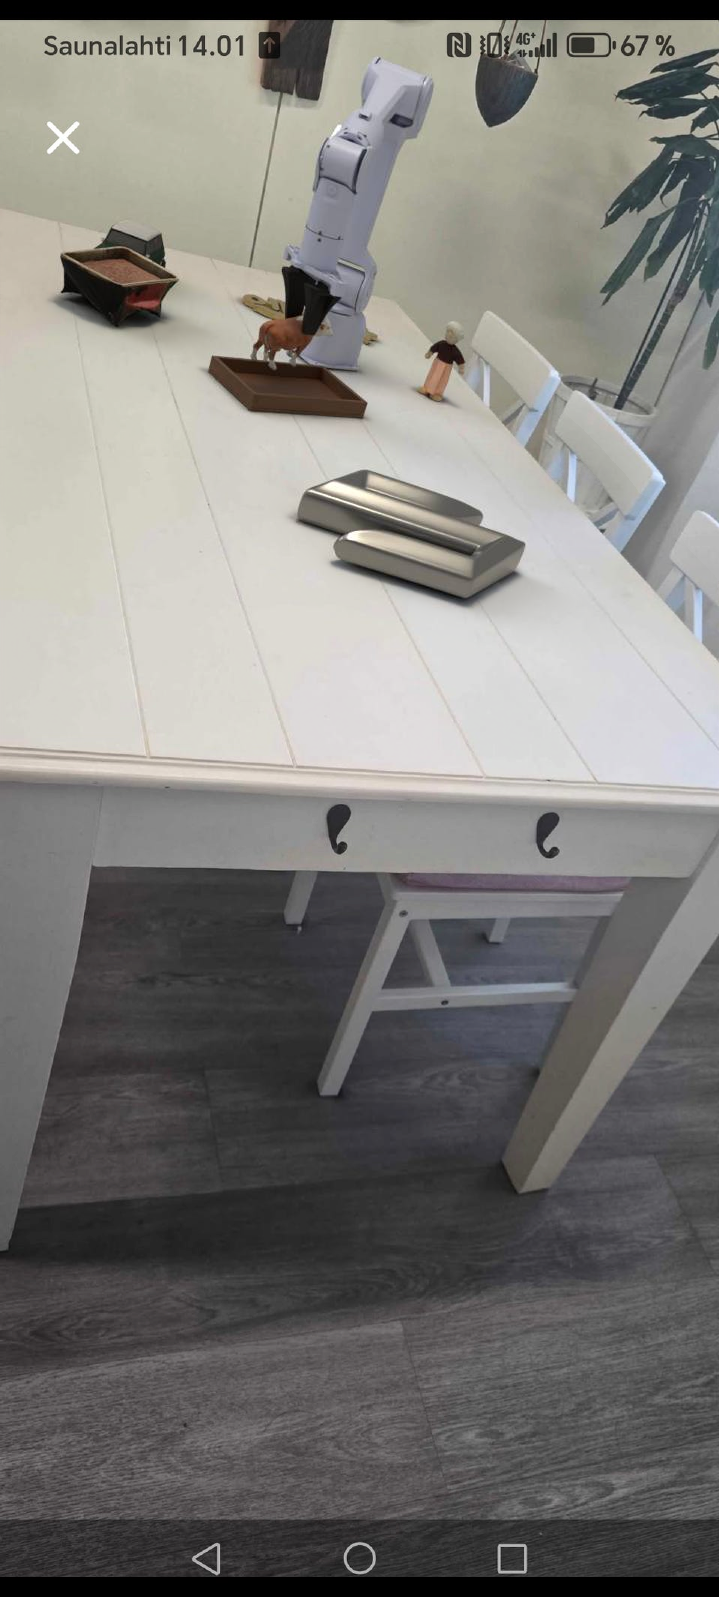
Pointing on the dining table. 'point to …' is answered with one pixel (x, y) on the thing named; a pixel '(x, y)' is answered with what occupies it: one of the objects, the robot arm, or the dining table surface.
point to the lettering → (282, 310)
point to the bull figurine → (286, 338)
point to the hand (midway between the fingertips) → (299, 326)
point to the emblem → (410, 532)
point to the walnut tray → (287, 387)
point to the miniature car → (136, 240)
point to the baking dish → (117, 280)
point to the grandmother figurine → (444, 361)
